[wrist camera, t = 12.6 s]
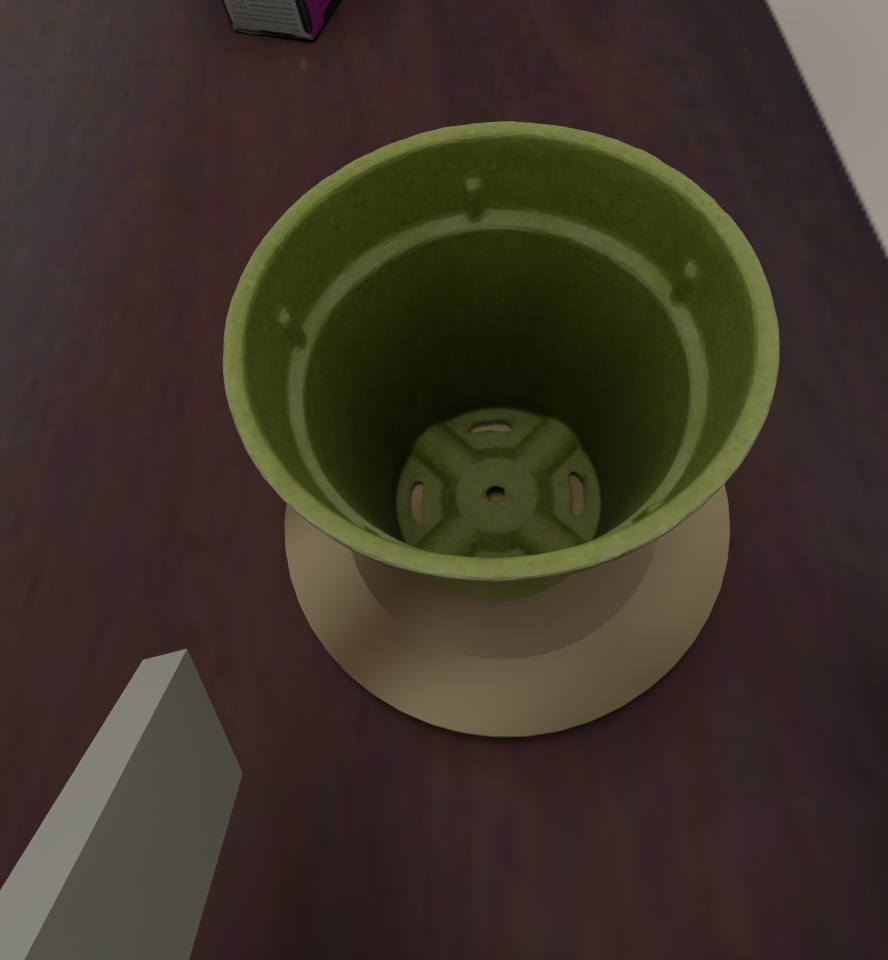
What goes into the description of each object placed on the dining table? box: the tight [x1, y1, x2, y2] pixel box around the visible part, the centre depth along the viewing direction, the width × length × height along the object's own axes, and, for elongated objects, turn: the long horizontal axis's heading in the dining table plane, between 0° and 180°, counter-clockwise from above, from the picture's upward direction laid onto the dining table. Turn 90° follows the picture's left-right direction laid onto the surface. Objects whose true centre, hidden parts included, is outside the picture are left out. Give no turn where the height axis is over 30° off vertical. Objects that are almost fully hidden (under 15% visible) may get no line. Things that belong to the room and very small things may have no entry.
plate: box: [285, 421, 730, 738], centre depth 19 cm, size 13×13×1 cm
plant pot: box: [223, 122, 779, 601], centre depth 15 cm, size 9×9×9 cm
